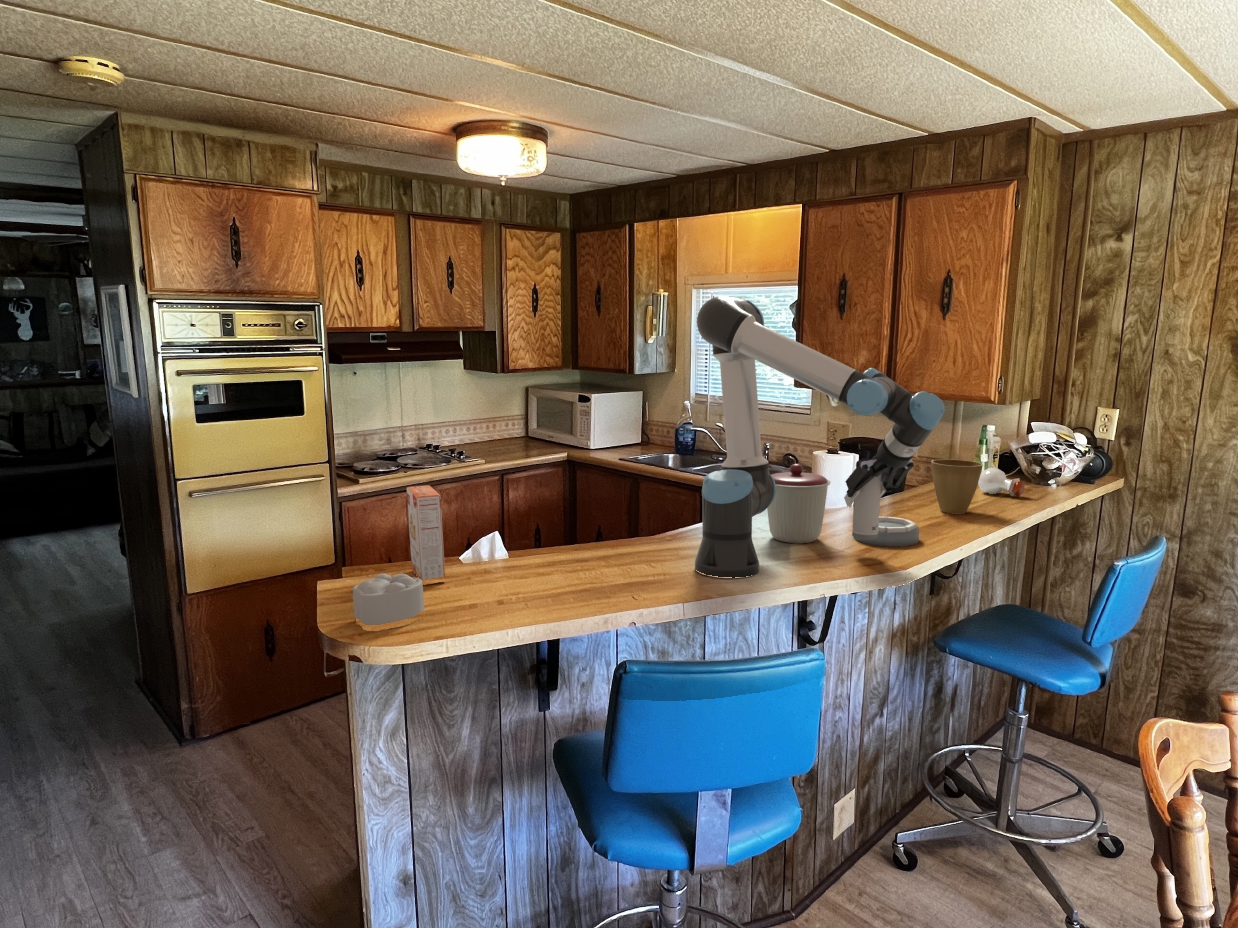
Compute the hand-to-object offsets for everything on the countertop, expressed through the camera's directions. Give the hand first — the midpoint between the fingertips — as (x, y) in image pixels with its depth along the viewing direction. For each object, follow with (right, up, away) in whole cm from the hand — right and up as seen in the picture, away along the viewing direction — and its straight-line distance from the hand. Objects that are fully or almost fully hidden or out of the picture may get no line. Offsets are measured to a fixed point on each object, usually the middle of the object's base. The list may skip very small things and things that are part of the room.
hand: (859, 501), depth 196 cm
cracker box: (-107, -17, -15) cm, 109 cm away
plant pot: (+45, -6, +48) cm, 67 cm away
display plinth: (+12, -11, +15) cm, 22 cm away
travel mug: (+1, -9, -2) cm, 9 cm away
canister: (-13, -11, +16) cm, 23 cm away
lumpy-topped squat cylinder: (-107, -22, -44) cm, 117 cm away
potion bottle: (+73, -2, +75) cm, 105 cm away
